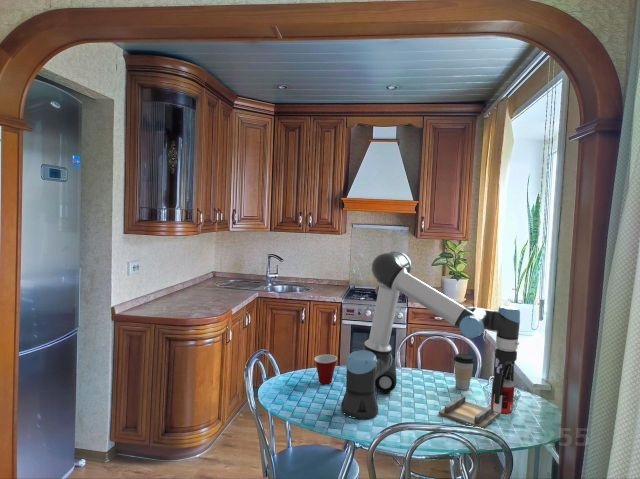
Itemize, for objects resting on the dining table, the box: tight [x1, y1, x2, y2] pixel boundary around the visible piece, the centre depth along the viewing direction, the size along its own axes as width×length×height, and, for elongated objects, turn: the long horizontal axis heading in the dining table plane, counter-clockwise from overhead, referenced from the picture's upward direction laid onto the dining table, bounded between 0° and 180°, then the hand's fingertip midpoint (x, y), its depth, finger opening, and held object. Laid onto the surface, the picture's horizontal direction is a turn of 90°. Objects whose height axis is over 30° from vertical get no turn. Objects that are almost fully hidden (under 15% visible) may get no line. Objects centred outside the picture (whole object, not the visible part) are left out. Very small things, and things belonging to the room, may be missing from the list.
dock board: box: [438, 395, 501, 429], centre depth 190 cm, size 18×18×4 cm
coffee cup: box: [453, 353, 476, 391], centre depth 219 cm, size 9×9×15 cm
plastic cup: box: [313, 353, 338, 385], centre depth 219 cm, size 11×11×12 cm
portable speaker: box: [375, 359, 397, 393], centre depth 221 cm, size 26×10×10 cm, turn 172°
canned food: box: [490, 378, 516, 416], centre depth 175 cm, size 8×8×11 cm
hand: (501, 408), depth 176 cm, fingers closed on canned food, 8 cm apart
